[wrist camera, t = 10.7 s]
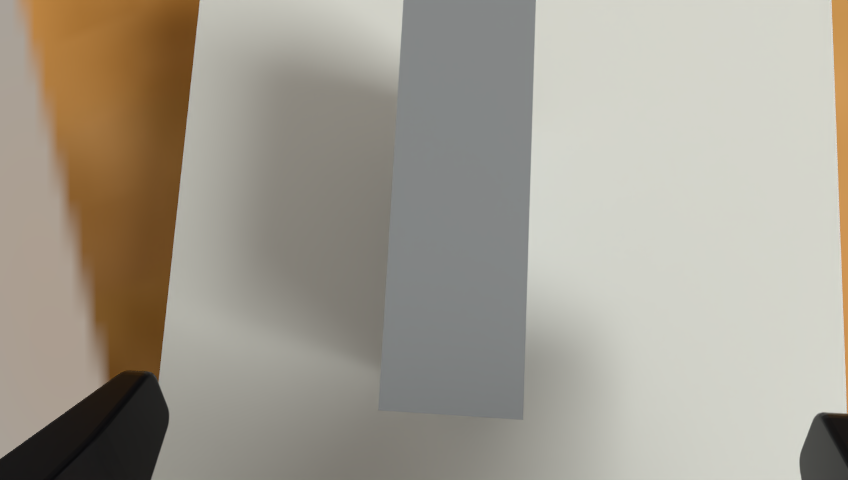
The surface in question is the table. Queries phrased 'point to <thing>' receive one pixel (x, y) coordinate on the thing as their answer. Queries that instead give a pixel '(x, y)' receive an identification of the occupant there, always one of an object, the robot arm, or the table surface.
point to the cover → (505, 241)
